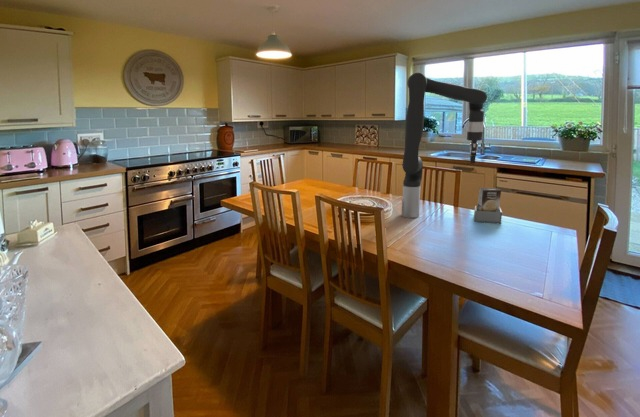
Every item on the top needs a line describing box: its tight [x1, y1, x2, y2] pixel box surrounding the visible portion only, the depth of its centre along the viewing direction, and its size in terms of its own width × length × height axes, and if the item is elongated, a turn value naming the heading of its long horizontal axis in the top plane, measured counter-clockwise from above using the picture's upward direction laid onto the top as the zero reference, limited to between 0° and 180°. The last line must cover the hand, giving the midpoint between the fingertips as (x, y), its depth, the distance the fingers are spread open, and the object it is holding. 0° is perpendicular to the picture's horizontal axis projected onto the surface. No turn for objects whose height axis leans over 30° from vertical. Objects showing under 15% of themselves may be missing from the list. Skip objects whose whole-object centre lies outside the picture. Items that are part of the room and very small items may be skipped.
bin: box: [473, 205, 503, 224], centre depth 202 cm, size 13×10×6 cm
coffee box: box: [477, 187, 502, 212], centre depth 201 cm, size 9×6×16 cm
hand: (472, 162), depth 201 cm, fingers open, 8 cm apart
